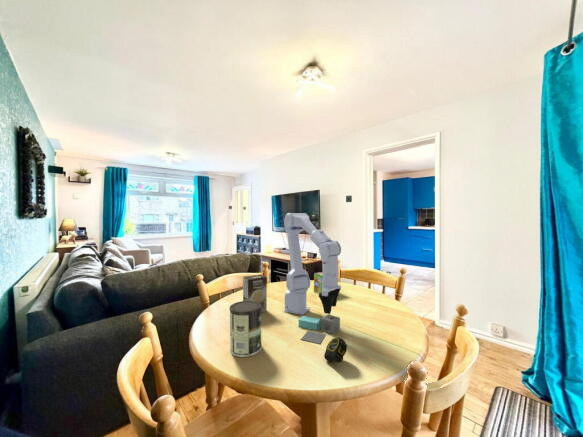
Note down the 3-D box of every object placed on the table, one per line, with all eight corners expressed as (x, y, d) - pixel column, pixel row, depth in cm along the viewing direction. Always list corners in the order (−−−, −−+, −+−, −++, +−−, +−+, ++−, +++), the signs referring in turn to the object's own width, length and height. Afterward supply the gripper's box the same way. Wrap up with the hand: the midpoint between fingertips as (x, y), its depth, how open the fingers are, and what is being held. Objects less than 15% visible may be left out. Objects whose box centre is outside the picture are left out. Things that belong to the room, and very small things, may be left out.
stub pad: (300, 340, 85) (300, 339, 85) (307, 331, 92) (307, 330, 92) (320, 344, 82) (320, 343, 82) (325, 335, 89) (325, 334, 89)
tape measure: (330, 364, 73) (320, 356, 73) (339, 343, 77) (331, 335, 77) (343, 366, 68) (333, 357, 68) (352, 343, 72) (343, 335, 72)
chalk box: (313, 293, 136) (313, 267, 136) (326, 291, 141) (326, 265, 140) (323, 298, 128) (323, 270, 128) (337, 295, 133) (336, 268, 132)
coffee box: (248, 316, 105) (248, 279, 105) (242, 312, 111) (242, 276, 111) (267, 312, 111) (267, 276, 110) (260, 307, 116) (260, 273, 116)
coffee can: (259, 338, 87) (258, 299, 87) (264, 354, 77) (264, 309, 77) (229, 343, 84) (228, 302, 84) (230, 360, 74) (230, 313, 74)
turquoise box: (298, 327, 95) (298, 319, 95) (302, 322, 99) (302, 315, 99) (318, 331, 92) (318, 323, 92) (321, 326, 96) (321, 318, 96)
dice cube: (332, 335, 89) (332, 322, 89) (321, 331, 92) (321, 318, 92) (339, 330, 92) (339, 317, 92) (328, 326, 96) (328, 314, 96)
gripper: (335, 279, 84) (336, 318, 84) (344, 270, 97) (345, 304, 97) (316, 277, 87) (316, 315, 87) (327, 269, 100) (327, 302, 100)
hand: (330, 309), depth 92 cm, fingers open, 7 cm apart
